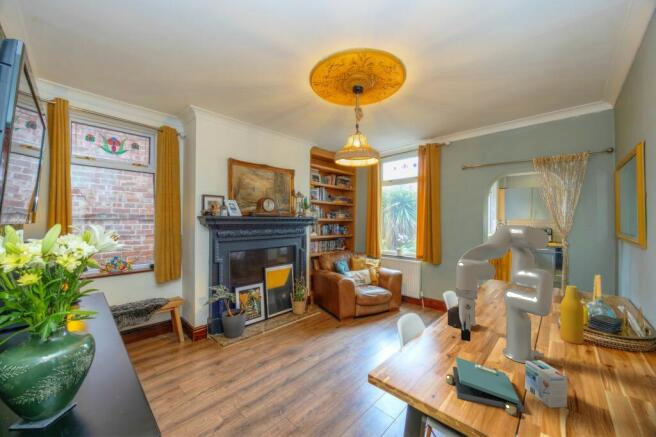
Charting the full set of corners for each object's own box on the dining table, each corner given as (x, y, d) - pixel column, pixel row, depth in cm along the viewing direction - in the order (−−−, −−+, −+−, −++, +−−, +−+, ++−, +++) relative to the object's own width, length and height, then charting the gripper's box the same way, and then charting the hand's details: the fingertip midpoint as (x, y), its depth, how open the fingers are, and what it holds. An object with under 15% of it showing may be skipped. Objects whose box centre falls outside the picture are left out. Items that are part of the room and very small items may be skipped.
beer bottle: (556, 338, 142) (556, 285, 142) (564, 335, 147) (565, 283, 147) (579, 346, 134) (579, 289, 134) (586, 342, 138) (587, 287, 138)
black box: (446, 325, 160) (446, 295, 160) (453, 320, 167) (453, 292, 167) (474, 333, 149) (474, 301, 149) (480, 328, 156) (480, 297, 156)
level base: (505, 377, 108) (505, 371, 108) (526, 419, 85) (526, 411, 85) (444, 365, 116) (444, 360, 116) (448, 401, 93) (448, 394, 93)
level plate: (504, 375, 105) (506, 369, 105) (518, 404, 89) (520, 396, 89) (455, 359, 111) (456, 353, 111) (460, 383, 95) (461, 376, 95)
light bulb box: (524, 388, 101) (524, 360, 101) (540, 387, 101) (540, 359, 101) (550, 408, 90) (550, 377, 90) (568, 407, 91) (568, 376, 91)
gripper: (480, 299, 96) (479, 350, 95) (474, 290, 110) (473, 334, 109) (457, 296, 98) (456, 346, 98) (454, 288, 112) (453, 331, 112)
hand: (465, 339), depth 104 cm, fingers closed
